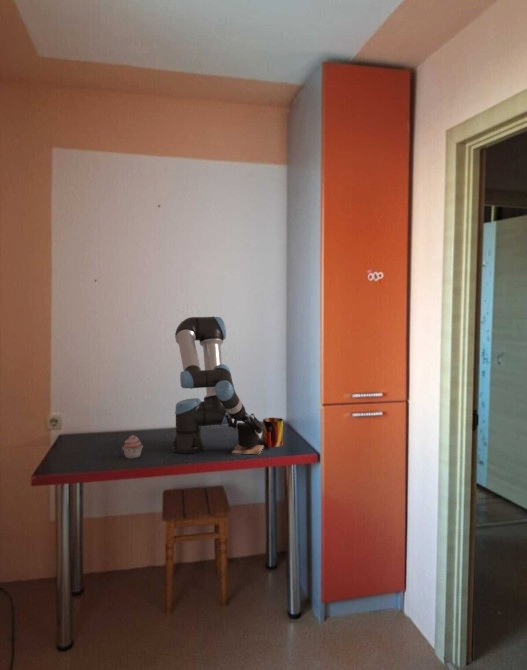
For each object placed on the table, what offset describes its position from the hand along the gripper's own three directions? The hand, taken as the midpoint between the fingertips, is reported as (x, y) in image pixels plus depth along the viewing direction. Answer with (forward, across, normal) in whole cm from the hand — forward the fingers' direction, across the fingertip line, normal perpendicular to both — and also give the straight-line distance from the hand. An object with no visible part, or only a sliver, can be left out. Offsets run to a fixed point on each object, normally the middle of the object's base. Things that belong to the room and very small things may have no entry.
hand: (251, 434), depth 236 cm
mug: (+12, +7, +2) cm, 14 cm away
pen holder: (+1, 0, -5) cm, 5 cm away
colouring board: (+3, 0, -7) cm, 7 cm away
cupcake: (-18, -43, -27) cm, 54 cm away
